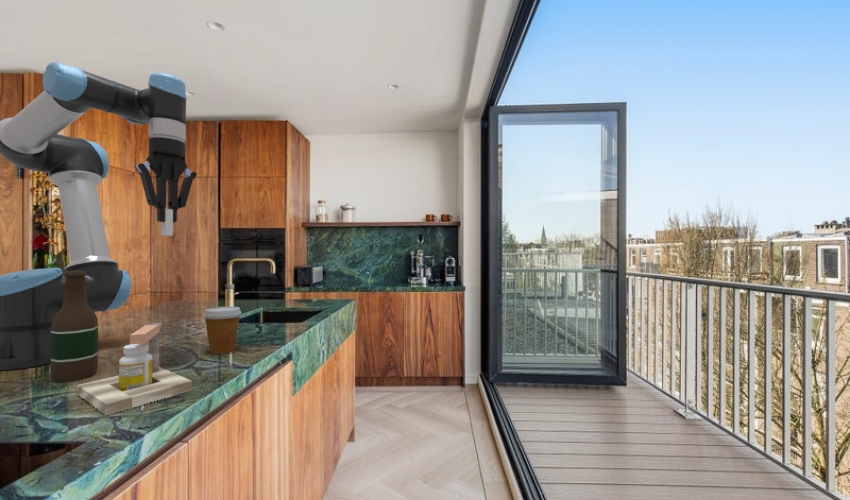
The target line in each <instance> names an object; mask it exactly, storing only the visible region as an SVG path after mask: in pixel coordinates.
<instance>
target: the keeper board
mask: <svg viewBox="0 0 850 500" xmlns="http://www.w3.org/2000/svg"><path fill="white" fill-rule="evenodd" d="M148 345H149V350H148V353H149V354H151V355H152V384H150V385H146V386H142V387H138V388H134V389H130V390H127V391H123V392H122V391H120V390H119V375H116V376H111V377H106V378H102V379H97V380H94V381H89V382H85V383H81V384H76V395H77V394H78V395H79V396H80V397H82V398H83V399H85V400H86V401H88V402H89V403H90V404H92V405H93V406H94V407H95V409H96V408H97V409H98V410H97V409H96V410H97V411H99V412H100V413H101V414H103V415H104V416H105V417H107V415H108V416H111V415H114V414H118V413H120V411H121V412H123V411H124V412H125V411H128V410H131V409H134V407H135V408H137V407H140V406H145V405H147V403H148V404H151V403H150V402H152V403H155V402H157V400H158V401H161V399H162V400H165V399H168V398H171V397H172V398H173V397H174V396H178V395H181V394H186V393H189V392H192V391H193V380H191V379H189V378H187V377H185V376H182V375H179V374H177V373H175V372H172V371H171V370H170V371H169V370H167V369H165V368H162V367H160V332H159V333H158V334H156V335H155V336H154V337H153V338H151V339H150V340H149V341H148ZM78 395H77V396H78ZM79 396H78V397H79ZM80 397H79V398H80ZM82 398H81V399H82ZM164 398H165V399H164ZM83 399H82V400H83ZM85 400H84V401H85ZM86 401H85V402H86ZM154 401H155V402H154ZM89 403H88V404H89ZM90 404H89V405H90ZM144 404H145V405H144ZM92 405H91V406H92ZM93 406H92V407H93ZM127 409H128V410H127ZM117 412H118V413H117Z"/></svg>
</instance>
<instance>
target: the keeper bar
mask: <svg viewBox="0 0 850 500" xmlns="http://www.w3.org/2000/svg"><path fill="white" fill-rule="evenodd" d="M162 331H163V322H161V321H160V322H157V321H156V322H149V323H146V324H145V325H144V326H142V327H141V328H139V329H137V330H136V331H134V332H132V333H131V334H130V335H129V345H130V344H143V343H147V342H149V340H150V339H151V338H153V337H154V336H155V335H156V334H158V333H159V334H160V333H161V332H162Z"/></svg>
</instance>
